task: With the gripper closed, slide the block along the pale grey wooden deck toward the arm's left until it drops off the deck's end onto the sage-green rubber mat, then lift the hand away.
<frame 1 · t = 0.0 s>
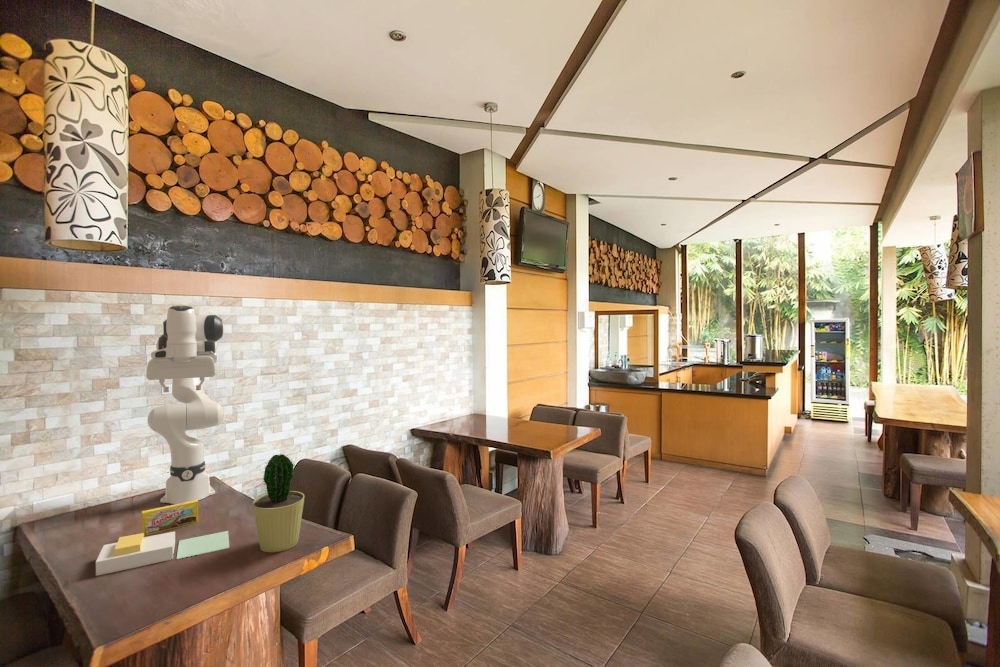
hand: (182, 391, 166), 48 cm above the table, fingers open, 8 cm apart
block: (129, 547, 143), point 4 cm above the table, touching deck
mat: (203, 544, 153), on the table
potted cactus: (279, 544, 154), on the table
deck: (138, 558, 144), on the table
candy box: (170, 529, 165), on the table
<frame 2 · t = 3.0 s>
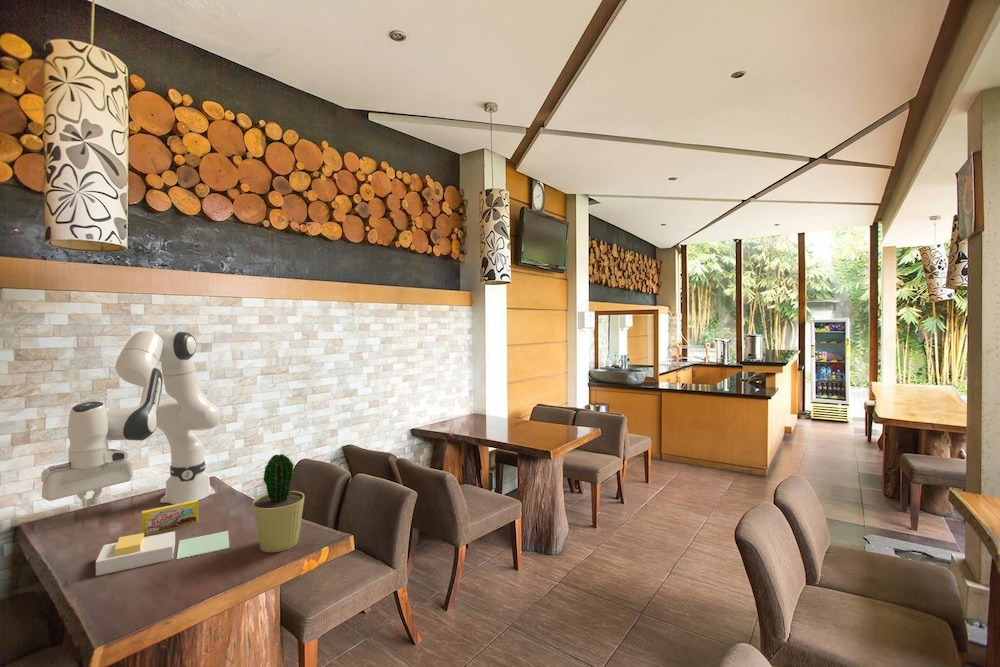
hand: (89, 505, 138), 19 cm above the table, fingers closed
nothing on the table moved.
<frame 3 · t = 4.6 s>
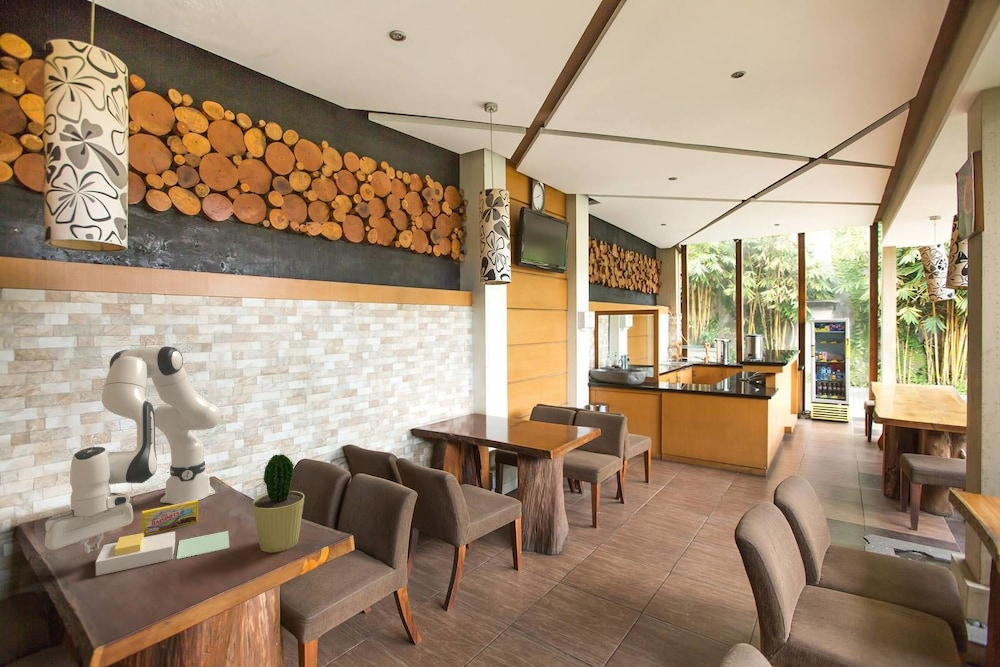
hand: (92, 551, 138), 5 cm above the table, fingers closed
nothing on the table moved.
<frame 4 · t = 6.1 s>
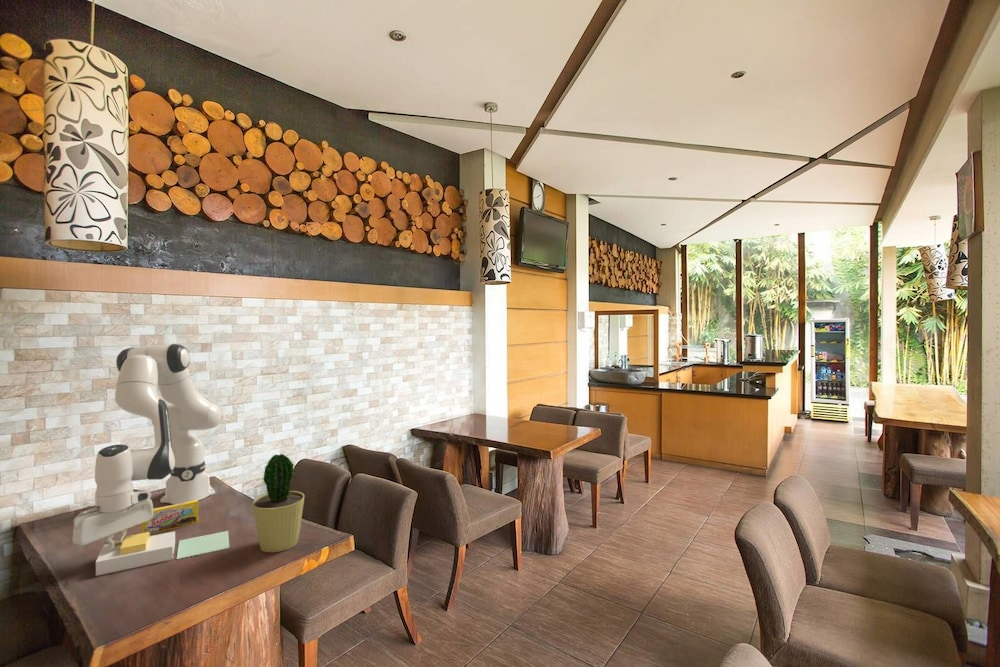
hand: (115, 546, 141), 5 cm above the table, fingers closed
block: (135, 546, 143), point 4 cm above the table, touching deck
everything else where it was.
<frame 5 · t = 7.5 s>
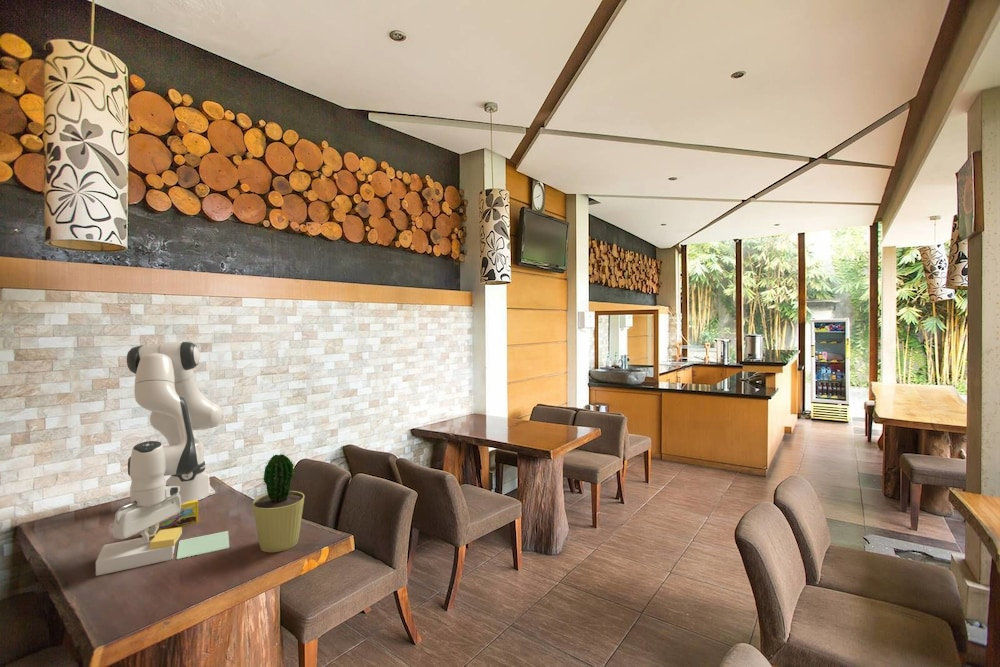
hand: (149, 539, 145), 5 cm above the table, fingers closed
block: (166, 540, 147), point 4 cm above the table, touching gripper
everything else where it was.
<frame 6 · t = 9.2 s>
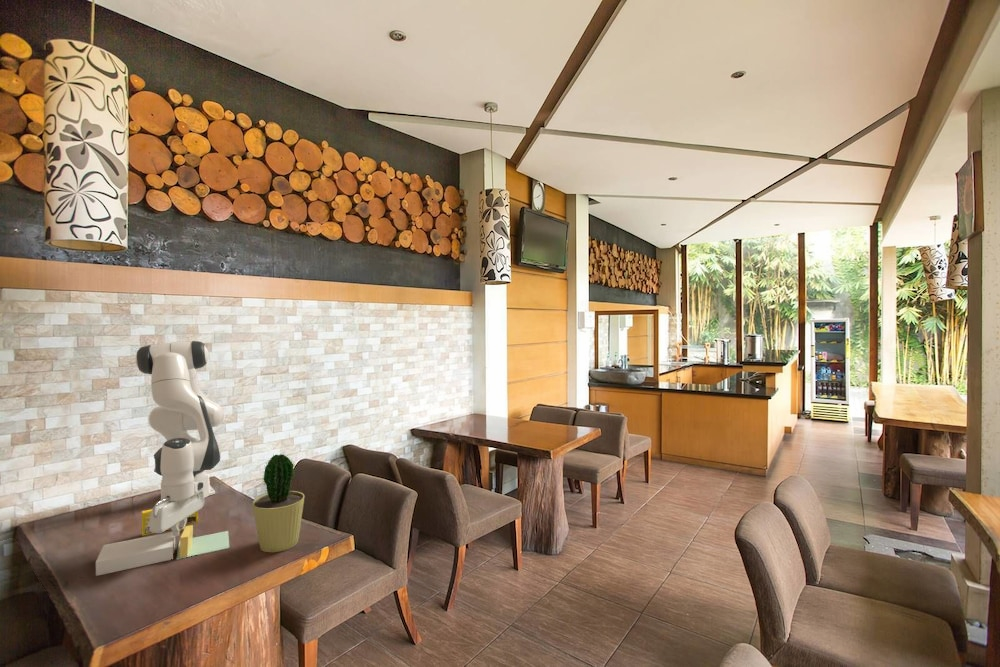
hand: (178, 534, 149), 5 cm above the table, fingers closed
block: (182, 541, 148), point 3 cm above the table, tilted 93°, touching gripper, mat
everything else where it was.
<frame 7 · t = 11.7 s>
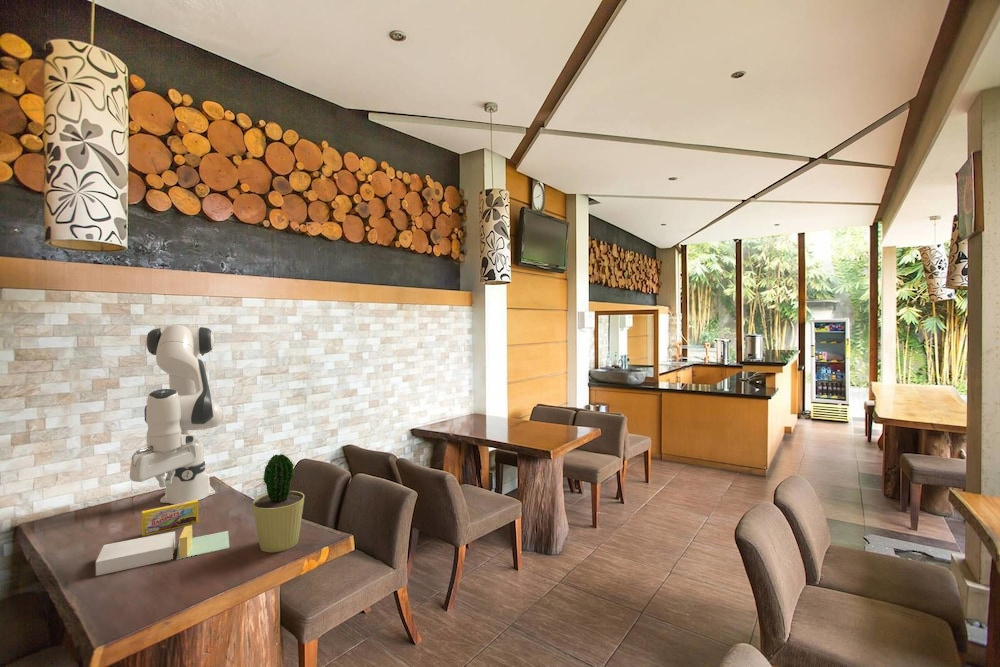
hand: (165, 485, 147), 21 cm above the table, fingers closed
block: (182, 541, 148), point 3 cm above the table, tilted 90°, touching mat
everything else where it was.
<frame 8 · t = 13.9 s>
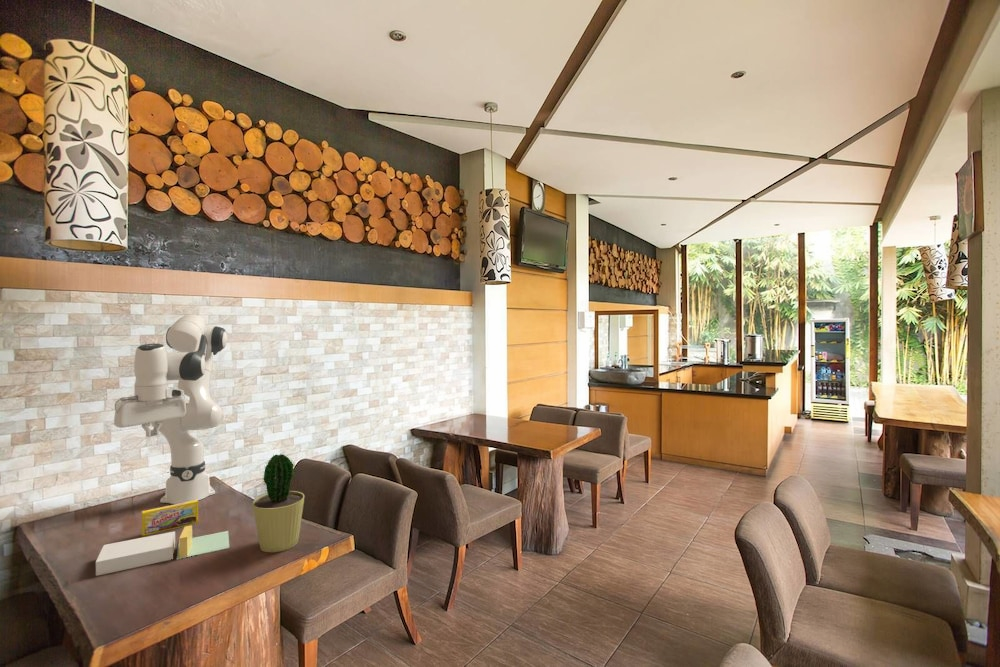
hand: (152, 435, 154), 35 cm above the table, fingers closed
nothing on the table moved.
at the end: block point 3.3 cm above the table; block inside the target area on the mat (6.0 cm from its centre), point 3.3 cm above the mat's base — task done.
